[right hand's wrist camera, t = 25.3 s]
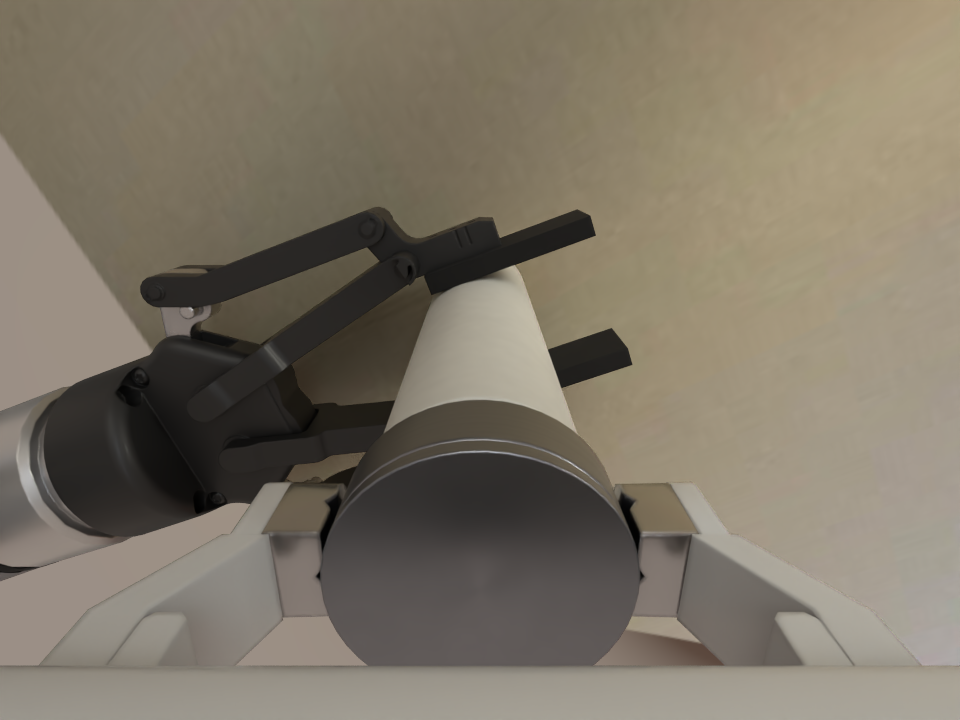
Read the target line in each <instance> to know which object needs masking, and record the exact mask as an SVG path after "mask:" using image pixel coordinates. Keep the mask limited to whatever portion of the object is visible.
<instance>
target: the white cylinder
mask: <svg viewBox="0 0 960 720" xmlns="http://www.w3.org/2000/svg"><path fill="white" fill-rule="evenodd" d="M464 400H494V401H504V402H509V403H514V404H518V405H523V406H526V407H528V408H531V409H534V410H537V411H540V412H542V413H544V414H546V415H548V416H550V417H552V418H554V419H556V420H558V421H560V422H561V423H563V424H564V425H566V426H567V427H569V428H570V429H572V430H573V431H574V432H575V433H576V434H577V431H576V429H575V426H574V423H573V420H572V417H571V414H570V412H569V409H568V406H567V403H566V400H565V397H564V395H563V392H562V389H561V386H560V383H559V380H558V378H557V375H556V372H555V369H554V366H553V363H552V361H551V358H550V355H549V352H548V349H547V346H546V344H545V341H544V338H543V335H542V332H541V329H540V327H539V324H538V321H537V318H536V315H535V312H534V310H533V307H532V304H531V301H530V298H529V295H528V293H527V290H526V287H525V284H524V281H523V279H522V276H521V274H520V272H519V270H518V269H517V268H516V266H515V265H513V266H511V267H508V268H505V269H502V270H500V271H497V272H494V273H491V274H488V275H486V276H483V277H480V278H477V279H475V280H472V281H469V282H466V283H464V284H461V285H458V286H455V287H453V288H450V289H447V290H444V291H442V292H439V293H436V294H434V295H433V297H432V300H431V303H430V306H429V309H428V311H427V314H426V317H425V320H424V322H423V325H422V328H421V331H420V334H419V336H418V339H417V342H416V345H415V347H414V350H413V353H412V356H411V359H410V361H409V364H408V367H407V370H406V372H405V375H404V378H403V381H402V384H401V386H400V389H399V392H398V395H397V397H396V400H395V403H394V406H393V409H392V411H391V414H390V417H389V420H388V422H387V425H386V428H385V431H384V433H385V432H387V431H388V430H389V429H390V428H392V427H393V426H394V425H396V424H397V423H399V422H401V421H403V420H404V419H406V418H408V417H410V416H411V415H414V414H416V413H418V412H421V411H423V410H426V409H428V408H431V407H435V406H438V405H442V404H446V403H451V402H458V401H464ZM577 435H578V434H577Z"/></svg>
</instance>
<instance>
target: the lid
mask: <svg viewBox="0 0 960 720" xmlns="http://www.w3.org/2000/svg"><path fill="white" fill-rule="evenodd" d="M639 584H640V566H639V558H638V554H637V550H636V545H635V542H634V540H633V537H632V535H631V532H630V530H629V528H628V525H627V522H626V520H625V517H624V515H623V512H622V510H621V507H620V505H619V502H618V500H617V497H616V495H615V492H614V490H613V487H612V485H611V482H610V480H609V478H608V475H607V473H606V471H605V468H604V466H603V465H602V463H601V462H600V460H599V458H598V457H597V455H596V454H595V452H594V451H593V450H592V449H591V448H590V447H589V445H588V444H587V443H586V442H585V441H584V440H583V439H582V438H581V437H580V436H578V435H577V434H576V433H575V432H574V431H573V430H572V429H570V428H569V427H567V426H566V425H564V424H563V423H561V422H560V421H558V420H556V419H554V418H552V417H550V416H548V415H546V414H544V413H542V412H540V411H537V410H534V409H531V408H528V407H526V406H523V405H518V404H514V403H509V402H504V401H494V400H464V401H458V402H451V403H446V404H442V405H438V406H435V407H431V408H428V409H426V410H423V411H421V412H418V413H416V414H414V415H411V416H410V417H408V418H406V419H404V420H403V421H401V422H399V423H397V424H396V425H394V426H393V427H392V428H390V429H389V430H388V431H387V432H385V433H384V434H383V435H381V436H380V437H379V439H378V440H377V441H376V442H375V443H374V444H373V445H372V446H371V447H370V448H369V449H368V451H367V452H366V453H365V455H364V456H363V457H362V459H361V460H360V462H359V464H358V466H357V468H356V470H355V472H354V474H353V476H352V478H351V481H350V483H349V486H348V488H347V490H346V493H345V495H344V498H343V500H342V503H341V505H340V507H339V510H338V512H337V515H336V517H335V520H334V523H333V525H332V527H331V529H330V532H329V534H328V537H327V540H326V543H325V546H324V549H323V553H322V560H321V566H320V585H321V590H322V596H323V601H324V604H325V607H326V610H327V613H328V616H329V618H330V620H331V622H332V624H333V626H334V628H335V629H336V631H337V633H338V634H339V636H340V637H341V638H342V640H343V641H344V642H345V644H346V645H347V646H348V647H349V648H350V649H351V650H352V651H353V652H354V654H355V655H356V656H357V657H358V658H360V659H361V660H362V661H363V662H364V663H366V664H367V665H368V666H593V665H594V664H596V663H597V662H598V661H599V660H600V659H601V658H602V657H603V656H604V655H605V654H606V653H608V651H609V650H610V649H611V648H612V647H613V645H614V644H615V643H616V642H617V641H618V640H619V638H620V637H621V635H622V633H623V632H624V630H625V629H626V627H627V625H628V623H629V621H630V619H631V616H632V614H633V612H634V609H635V605H636V602H637V598H638V594H639Z"/></svg>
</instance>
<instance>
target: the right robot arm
mask: <svg viewBox="0 0 960 720" xmlns="http://www.w3.org/2000/svg"><path fill="white" fill-rule="evenodd" d="M346 490H347V488H346V486H345V485H344V483H304V482H294V483H292V482H269V483H266V484H264V485H263V487H262V488H261V490H260V491H259V493H258V494H257V496H256V497H255V498H254V500H253V501H252V503H251V504H250V506H249V507H248V509H247V510H246V512H245V513H244V515H243V516H242V518H241V519H240V521H239V522H238V524H237V525H236V526H235V528H234V530H233V531H232V532H231V534H222V535H220V536H218V537H217V538H215V539H213V540H211V541H209V542H208V543H206V544H204V545H202V546H201V547H199V548H197V549H195V550H193V551H192V552H190V553H188V554H186V555H185V556H183V557H181V558H179V559H177V560H176V561H174V562H172V563H170V564H168V565H167V566H165V567H163V568H161V569H159V570H158V571H156V572H154V573H152V574H151V575H149V576H147V577H145V578H143V579H142V580H140V581H138V582H136V583H135V584H133V585H131V586H129V587H128V588H126V589H124V590H122V591H120V592H118V593H117V594H115V595H113V596H111V597H110V598H108V599H106V600H104V601H102V602H101V603H99V604H97V605H95V606H94V607H92V608H90V609H88V610H87V611H86V612H85V613H84V615H83V616H82V617H81V618H80V619H79V620H78V621H77V623H76V624H75V625H74V626H73V627H72V628H71V629H70V630H69V632H68V633H67V634H66V635H65V636H64V637H63V638H62V639H61V641H60V642H59V643H58V644H57V645H56V646H55V647H54V649H53V650H52V651H51V652H50V653H49V654H48V655H47V657H46V658H45V659H44V660H43V661H42V662H41V663H40V664H39V665H38V666H0V720H960V666H922V665H921V664H920V663H919V662H918V660H917V659H916V658H915V657H914V656H913V655H912V654H911V652H910V651H909V650H908V649H907V648H906V647H905V646H904V644H903V643H902V642H901V641H900V640H899V639H898V638H897V636H896V635H895V634H894V633H893V632H892V631H891V630H890V629H889V627H888V626H887V625H886V624H885V623H884V622H883V621H882V619H881V618H880V617H879V616H878V615H877V614H876V613H875V611H874V610H872V609H870V608H868V607H866V606H865V605H863V604H861V603H859V602H858V601H856V600H854V599H852V598H850V597H849V596H847V595H845V594H843V593H842V592H840V591H838V590H836V589H834V588H833V587H831V586H829V585H827V584H826V583H824V582H822V581H820V580H818V579H817V578H815V577H813V576H811V575H810V574H808V573H806V572H804V571H802V570H801V569H799V568H797V567H795V566H794V565H792V564H790V563H788V562H786V561H785V560H783V559H781V558H779V557H778V556H776V555H774V554H772V553H770V552H769V551H767V550H765V549H763V548H762V547H760V546H758V545H756V544H754V543H753V542H751V541H749V540H747V539H746V538H744V537H742V536H740V535H738V534H730V533H729V532H728V530H727V529H726V528H725V526H724V525H723V523H722V522H721V520H720V519H719V517H718V516H717V514H716V513H715V512H714V510H713V509H712V507H711V506H710V504H709V503H708V501H707V500H706V498H705V497H704V496H703V494H702V493H701V491H700V490H699V488H698V487H697V485H696V484H694V483H692V482H672V483H645V484H615V487H614V492H615V495H616V497H617V500H618V502H619V505H620V507H621V510H622V512H623V515H624V517H625V520H626V522H627V525H628V528H629V530H630V532H631V535H632V537H633V540H634V542H635V545H636V550H637V554H638V558H639V566H640V584H639V594H638V598H637V602H636V605H635V609H634V612H633V614H632V616H647V617H678V618H677V620H678V621H679V622H680V623H681V624H682V625H683V626H684V627H685V628H687V629H688V630H689V631H690V632H691V633H692V634H693V635H694V636H695V637H696V638H697V639H698V640H699V641H700V642H701V643H702V644H703V645H704V646H705V647H706V648H707V649H709V650H710V651H711V652H712V653H713V654H714V655H715V656H716V657H717V658H718V659H719V660H720V661H721V662H722V663H723V664H724V665H725V666H235V665H236V664H237V663H238V662H239V661H241V660H242V659H243V658H244V657H245V656H246V655H247V654H248V653H249V652H250V651H251V650H252V649H253V648H254V647H255V646H256V645H257V644H258V643H259V642H260V641H262V640H263V639H264V638H265V637H266V636H267V635H268V634H269V633H270V632H271V631H272V630H273V629H274V628H275V627H276V626H277V625H278V624H279V623H280V622H281V621H282V620H283V617H312V616H328V613H327V610H326V607H325V604H324V601H323V596H322V590H321V585H320V566H321V560H322V553H323V549H324V546H325V543H326V540H327V537H328V534H329V532H330V529H331V527H332V525H333V523H334V520H335V517H336V515H337V512H338V510H339V507H340V505H341V503H342V500H343V498H344V495H345V493H346Z"/></svg>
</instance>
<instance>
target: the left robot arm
mask: <svg viewBox="0 0 960 720" xmlns="http://www.w3.org/2000/svg"><path fill="white" fill-rule="evenodd" d="M593 236H596V234H595V231H594V227H593V224H592V220H591V217H590V215H588V214H586V213H583V212H581V211H579V210H575V211H572V212H569V213H567V214H564V215H561V216H558V217H556V218H553V219H550V220H548V221H545V222H542V223H540V224H537V225H534V226H531V227H529V228H526V229H523V230H521V231H518V232H515V233H513V234H510V235H507V236H504V237H502V238H499V235H498V232H497V229H496V226H495V223H494V221H493V218H490V217H478V218H475V219H473V220H470V221H468V222H465V223H462V224H460V225H457V226H454V227H452V228H449V229H446V230H444V231H441V232H438V233H436V234H433V235H430V236H428V237H425V238H413V237H410V236H408V235H407V234H406V233H405V232H403V230H402V229H401V228H400V227H399V226H398V225H397V224H396V222H395V221H394V220H393V217H392V215H391V214H390V212H389V211H387V210H386V209H385V208H381V207H375V208H371V209H369V210H366V211H364V212H361V213H358V214H356V215H353V216H351V217H348V218H346V219H343V220H340V221H338V222H335V223H333V224H330V225H328V226H325V227H322V228H320V229H317V230H315V231H312V232H310V233H307V234H304V235H302V236H299V237H297V238H294V239H291V240H289V241H286V242H284V243H281V244H279V245H276V246H273V247H271V248H268V249H266V250H263V251H261V252H258V253H255V254H253V255H250V256H248V257H245V258H243V259H240V260H237V261H235V262H232V263H230V264H227V265H185V266H180V267H177V268H175V269H172V270H169V271H166V272H163V273H160V274H157V275H154V276H152V277H149V278H146V279H145V280H144V281H143V282H142V284H141V286H140V290H141V294H142V297H143V299H144V300H145V301H146V302H147V303H148V304H150V305H152V306H154V307H160V309H161V314H162V318H163V323H164V327H165V332H166V336H167V338H165V339H163V340H162V341H161V342H159V343H158V345H157V346H156V347H155V349H154V350H153V352H152V353H151V354H150V355H149V356H146V357H143V358H141V359H138V360H136V361H133V362H130V363H127V364H125V365H122V366H119V367H117V368H114V369H111V370H109V371H106V372H103V373H100V374H98V375H95V376H92V377H90V378H87V379H84V380H82V381H80V382H78V383H76V384H74V385H73V386H70V387H63V388H60V389H58V390H55V391H52V392H50V393H47V394H44V395H42V396H39V397H37V398H34V399H31V400H29V401H26V402H23V403H21V404H18V405H16V406H13V407H11V408H8V409H5V410H2V411H0V581H2V580H5V579H8V578H11V577H14V576H17V575H19V574H22V573H25V572H28V571H31V570H34V569H36V568H40V567H43V566H46V565H49V564H53V563H56V562H58V561H61V560H64V559H68V558H71V557H74V556H78V555H81V554H84V553H87V552H91V551H94V550H97V549H101V548H104V547H107V546H111V545H114V544H117V543H120V542H123V541H125V540H127V539H129V538H131V537H133V536H138V535H143V534H146V533H149V532H152V531H155V530H158V529H161V528H164V527H167V526H171V525H174V524H177V523H180V522H183V521H186V520H189V519H192V518H195V517H198V516H201V515H203V514H206V513H208V512H210V511H213V510H215V509H217V508H219V507H221V506H224V505H226V504H229V503H247V504H251V503H252V501H253V500H254V498H255V497H256V496H257V494H258V493H259V491H260V490H261V488H262V487H263V485H264V484H266V483H269V482H291V481H289V480H288V479H286V478H287V476H288V475H289V473H290V472H291V470H292V468H293V467H294V465H296V464H307V463H315V462H319V461H322V460H324V459H325V458H327V457H329V456H331V455H339V454H349V453H359V452H367V451H368V449H369V448H370V447H371V446H372V445H373V444H374V443H375V442H376V441H377V440H378V439H379V437H380V436H381V435H383V434H384V431H385V428H386V425H387V422H388V420H389V417H390V414H391V411H392V409H393V406H394V403H395V401H385V402H375V403H366V404H356V405H346V406H338V405H337V404H336V403H324V404H314V405H312V403H311V401H310V400H309V399H308V397H307V396H306V395H305V394H304V393H303V392H302V391H301V390H300V389H299V387H298V385H297V380H296V376H295V372H294V369H293V367H292V365H291V364H292V363H293V362H295V361H296V360H298V359H299V358H300V357H302V356H303V355H305V354H306V353H308V352H309V351H311V350H312V349H314V348H315V347H317V346H318V345H320V344H321V343H322V342H324V341H325V340H327V339H328V338H330V337H331V336H333V335H334V334H336V333H337V332H339V331H340V330H341V329H343V328H344V327H346V326H347V325H349V324H350V323H352V322H353V321H355V320H356V319H358V318H359V317H361V316H362V315H363V314H365V313H366V312H368V311H369V310H371V309H372V308H374V307H375V306H377V305H378V304H380V303H381V302H383V301H384V300H385V299H387V298H388V297H390V296H391V295H393V294H394V293H396V292H397V291H399V290H400V289H402V288H403V287H405V286H406V285H407V284H409V286H410V285H411V284H412V283H413V282H414V280H415V278H418V277H421V276H423V275H425V276H424V277H425V280H426V282H427V285H428V287H429V290H430V292H431V295H433V294H436V293H439V292H442V291H444V290H447V289H450V288H453V287H455V286H458V285H461V284H464V283H466V282H469V281H472V280H475V279H477V278H480V277H483V276H486V275H488V274H491V273H494V272H497V271H500V270H502V269H505V268H508V267H511V266H513V265H516V264H519V263H522V262H524V261H527V260H530V259H533V258H535V257H538V256H541V255H544V254H546V253H549V252H552V251H555V250H557V249H560V248H563V247H566V246H568V245H571V244H574V243H577V242H579V241H582V240H585V239H588V238H590V237H593ZM366 247H368V249H369V250H370V251H371V252H372V253H373V254H374V255H375V256H376V257H377V258H378V260H379V262H378V263H376V264H375V265H374V266H372V267H371V268H369V269H368V270H366V271H365V272H364V273H362V274H361V275H359V276H358V277H357V278H355V279H354V280H352V281H351V282H349V283H348V284H347V285H345V286H344V287H342V288H341V289H339V290H338V291H337V292H335V293H334V294H332V295H331V296H329V297H328V298H327V299H325V300H324V301H322V302H321V303H319V304H318V305H317V306H315V307H314V308H312V309H311V310H310V311H308V312H307V313H305V314H304V315H302V316H301V317H300V318H298V319H297V320H295V321H294V322H292V323H291V324H289V325H287V326H286V327H285V328H283V329H282V330H280V331H279V332H277V333H276V334H275V335H273V336H272V337H270V338H269V339H267V340H266V341H265V342H263V343H262V344H260V345H259V344H255V343H251V342H247V341H243V340H239V339H236V338H232V337H228V336H224V335H220V334H216V333H212V332H208V331H204V330H201V323H202V321H205V320H206V319H208V318H210V317H212V316H213V315H215V314H216V313H218V312H219V310H220V308H221V302H223V301H226V300H229V299H231V298H234V297H237V296H239V295H242V294H245V293H247V292H250V291H252V290H255V289H258V288H260V287H263V286H266V285H268V284H271V283H274V282H276V281H279V280H281V279H284V278H287V277H289V276H292V275H295V274H297V273H300V272H303V271H305V270H308V269H310V268H313V267H316V266H318V265H321V264H324V263H326V262H329V261H332V260H334V259H337V258H339V257H342V256H345V255H347V254H350V253H353V252H355V251H358V250H361V249H363V248H366ZM548 352H549V355H550V358H551V361H552V363H553V366H554V369H555V372H556V375H557V378H558V380H559V383H560V386H561V388H563V387H566V386H569V385H572V384H575V383H578V382H581V381H584V380H587V379H590V378H594V377H597V376H600V375H603V374H606V373H609V372H612V371H615V370H618V369H621V368H624V367H627V366H630V365H632V362H631V358H630V355H629V351H628V348H627V347H626V346H625V344H624V343H623V342H622V340H621V339H620V338H619V337H618V335H617V334H616V333H615V332H614V330H613V329H612V328H610V329H608V330H605V331H602V332H599V333H596V334H593V335H590V336H587V337H584V338H581V339H578V340H575V341H572V342H569V343H566V344H563V345H560V346H557V347H554V348H551V349H548ZM356 468H357V466H356V467H353V468H350V469H347V470H344V471H341V472H339V473H336V474H334V475H333V476H331V477H329V478H327V479H326V480H325V481H322V479H321V478H319V477H313V478H312V479H311V480H306V481H304V483H344V485H345V486H346V488H348V486H349V483H350V481H351V478H352V476H353V474H354V472H355V470H356ZM292 483H294V482H292Z"/></svg>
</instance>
